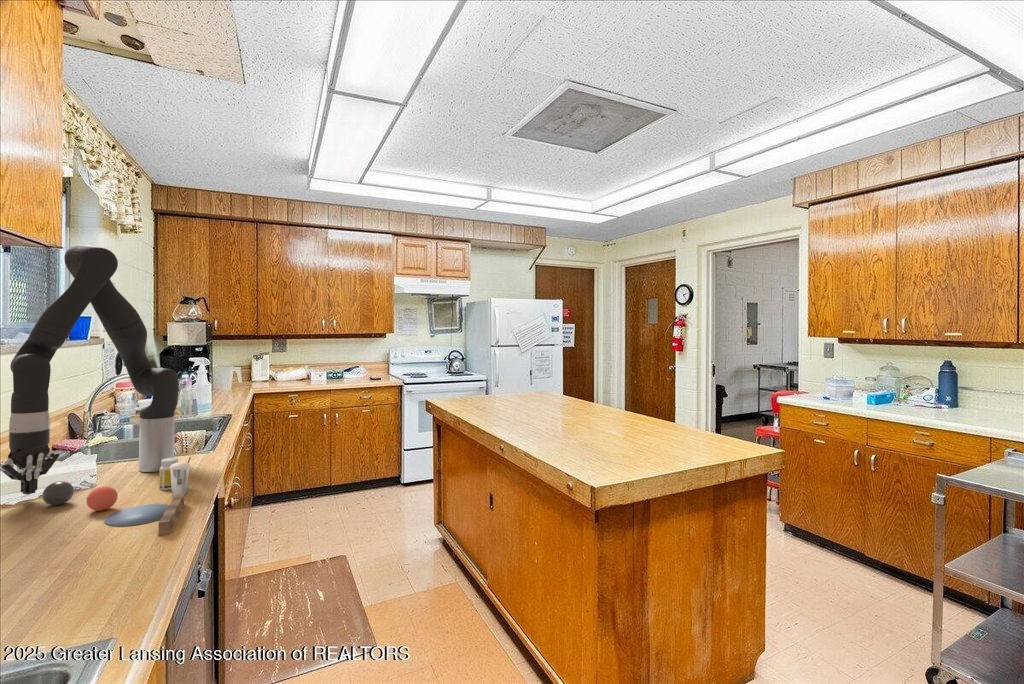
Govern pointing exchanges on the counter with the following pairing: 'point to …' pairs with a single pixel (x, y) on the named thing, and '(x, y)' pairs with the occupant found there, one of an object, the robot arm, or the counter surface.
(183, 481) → the milkshake
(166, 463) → the supplement bottle
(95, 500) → the red ball
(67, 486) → the dark gray ball
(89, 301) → the robot arm
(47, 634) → the counter surface
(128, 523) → the blue-grey flat disc
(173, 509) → the stopper rail
